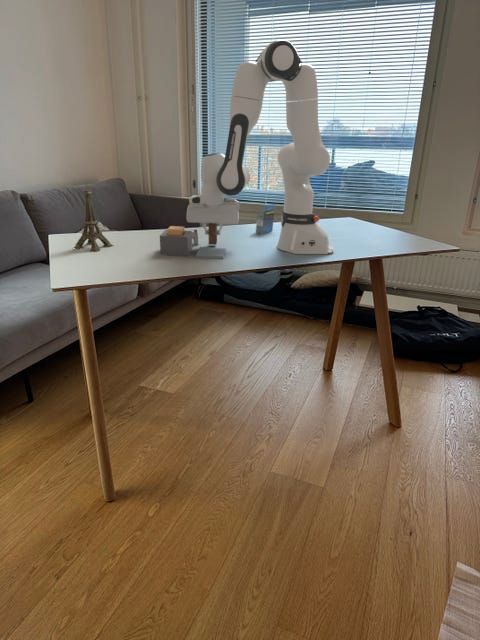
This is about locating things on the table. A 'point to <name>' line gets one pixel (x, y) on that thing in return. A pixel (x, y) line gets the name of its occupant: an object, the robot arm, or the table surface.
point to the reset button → (176, 230)
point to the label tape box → (265, 220)
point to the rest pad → (211, 252)
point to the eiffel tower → (91, 227)
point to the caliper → (195, 237)
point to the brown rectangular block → (212, 233)
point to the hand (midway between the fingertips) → (212, 234)
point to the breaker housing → (176, 244)
